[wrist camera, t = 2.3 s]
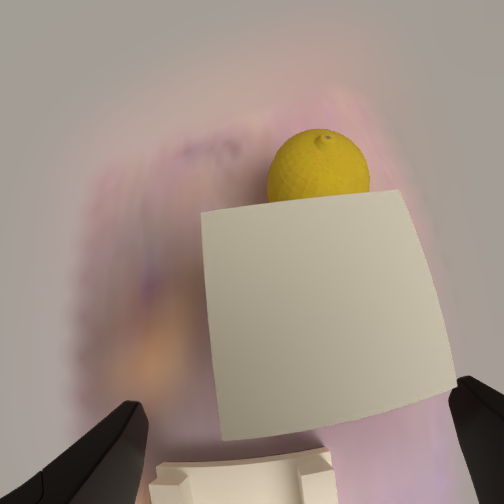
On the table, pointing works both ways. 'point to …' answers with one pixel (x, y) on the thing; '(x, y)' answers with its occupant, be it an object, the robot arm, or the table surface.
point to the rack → (248, 480)
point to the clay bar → (320, 313)
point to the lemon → (317, 167)
